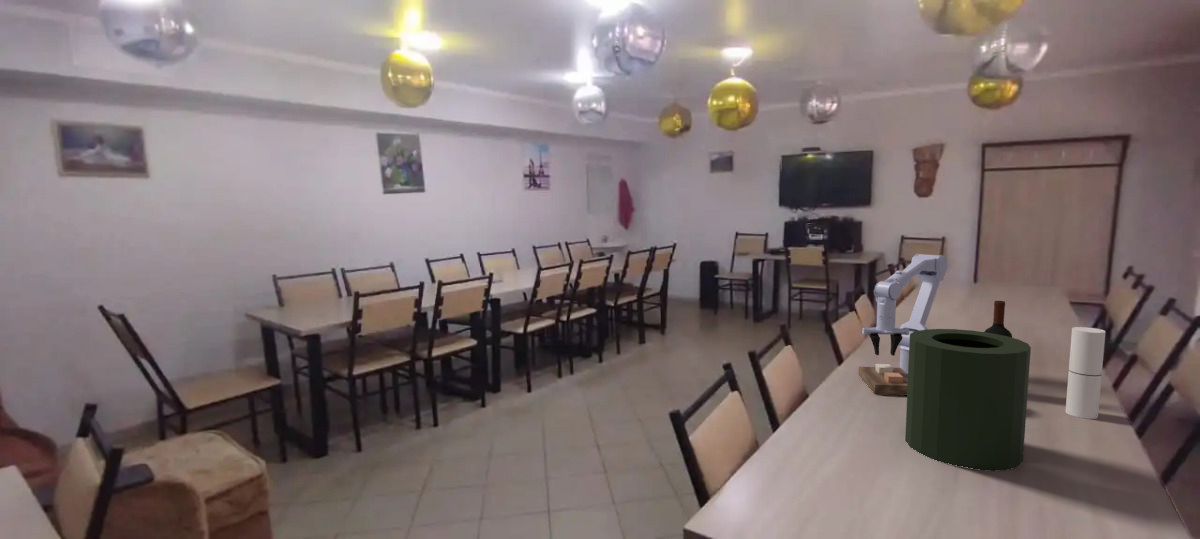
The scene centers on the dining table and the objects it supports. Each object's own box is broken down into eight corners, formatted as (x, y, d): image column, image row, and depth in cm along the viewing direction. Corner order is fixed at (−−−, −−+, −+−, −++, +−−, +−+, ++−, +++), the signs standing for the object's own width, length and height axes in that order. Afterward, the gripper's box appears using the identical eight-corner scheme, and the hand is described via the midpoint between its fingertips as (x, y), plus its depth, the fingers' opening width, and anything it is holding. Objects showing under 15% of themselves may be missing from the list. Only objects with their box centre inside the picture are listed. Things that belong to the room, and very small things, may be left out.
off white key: (888, 373, 195) (889, 364, 194) (892, 376, 190) (893, 367, 190) (875, 372, 196) (875, 363, 195) (879, 376, 191) (879, 367, 191)
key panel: (900, 377, 197) (900, 367, 196) (921, 396, 177) (922, 386, 177) (858, 375, 199) (858, 366, 199) (874, 394, 180) (875, 384, 180)
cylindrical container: (1069, 416, 159) (1076, 331, 156) (1062, 408, 165) (1069, 326, 162) (1101, 420, 155) (1109, 333, 152) (1093, 411, 162) (1100, 328, 159)
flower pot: (966, 477, 126) (973, 358, 122) (882, 434, 150) (886, 333, 147) (1049, 461, 132) (1058, 347, 129) (956, 422, 156) (961, 325, 153)
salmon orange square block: (898, 382, 185) (898, 372, 185) (902, 386, 181) (903, 376, 180) (884, 381, 186) (884, 372, 185) (888, 385, 182) (888, 376, 181)
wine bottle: (999, 388, 183) (1005, 299, 179) (1014, 396, 175) (1020, 303, 172) (975, 388, 184) (980, 299, 180) (988, 396, 176) (994, 303, 173)
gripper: (866, 318, 188) (865, 357, 190) (913, 319, 185) (911, 358, 187) (861, 314, 195) (859, 351, 197) (905, 314, 192) (904, 352, 194)
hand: (884, 354), depth 192 cm, fingers open, 4 cm apart
